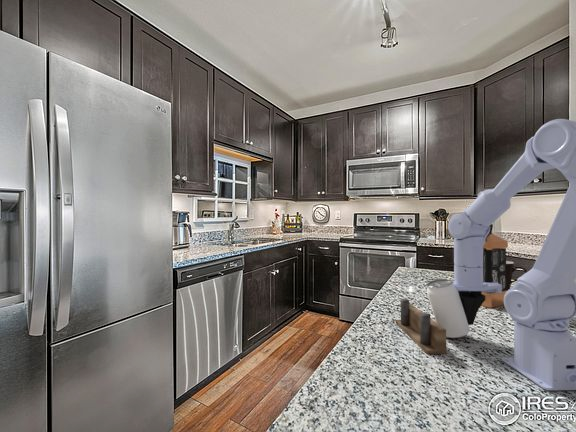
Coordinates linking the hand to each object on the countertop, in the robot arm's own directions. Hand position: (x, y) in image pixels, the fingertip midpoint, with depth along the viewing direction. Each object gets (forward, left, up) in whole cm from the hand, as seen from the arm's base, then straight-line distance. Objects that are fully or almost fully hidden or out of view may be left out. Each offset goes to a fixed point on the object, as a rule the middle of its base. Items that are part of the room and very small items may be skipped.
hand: (468, 323), depth 66 cm
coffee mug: (+37, -38, -3) cm, 53 cm away
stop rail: (0, +11, -3) cm, 11 cm away
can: (0, +3, -2) cm, 4 cm away
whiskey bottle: (+24, -21, -3) cm, 32 cm away
